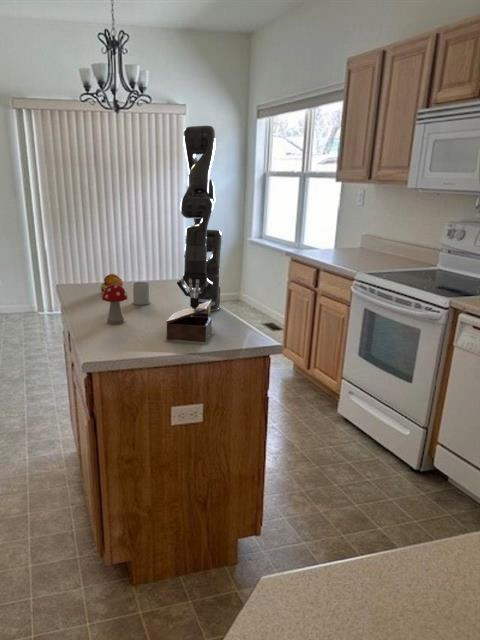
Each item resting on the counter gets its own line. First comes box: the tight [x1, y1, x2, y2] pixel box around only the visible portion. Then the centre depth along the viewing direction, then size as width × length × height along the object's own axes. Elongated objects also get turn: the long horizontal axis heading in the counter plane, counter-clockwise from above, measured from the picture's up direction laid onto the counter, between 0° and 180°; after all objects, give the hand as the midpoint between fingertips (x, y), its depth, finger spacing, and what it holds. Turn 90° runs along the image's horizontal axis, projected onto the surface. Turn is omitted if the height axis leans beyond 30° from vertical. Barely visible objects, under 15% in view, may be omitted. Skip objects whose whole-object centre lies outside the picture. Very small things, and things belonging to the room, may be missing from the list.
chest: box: [166, 316, 213, 343], centre depth 190 cm, size 14×13×6 cm
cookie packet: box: [192, 299, 211, 317], centre depth 200 cm, size 6×5×11 cm
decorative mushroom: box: [101, 284, 129, 325], centre depth 206 cm, size 10×9×15 cm
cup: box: [132, 281, 150, 306], centre depth 238 cm, size 7×10×9 cm
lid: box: [166, 301, 212, 325], centre depth 188 cm, size 15×13×1 cm
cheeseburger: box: [99, 273, 124, 293], centre depth 256 cm, size 10×11×10 cm
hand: (194, 308), depth 187 cm, fingers closed
